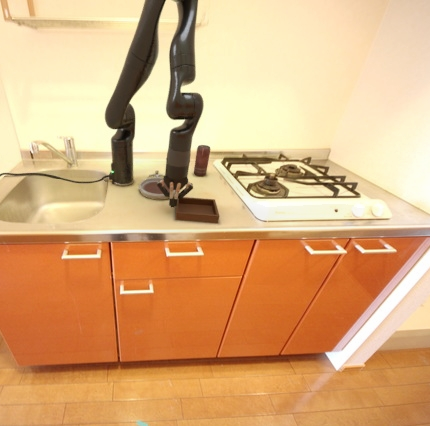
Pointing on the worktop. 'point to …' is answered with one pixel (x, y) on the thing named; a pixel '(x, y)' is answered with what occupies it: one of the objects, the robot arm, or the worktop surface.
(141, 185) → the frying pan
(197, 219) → the tray
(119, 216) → the worktop surface
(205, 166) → the can
